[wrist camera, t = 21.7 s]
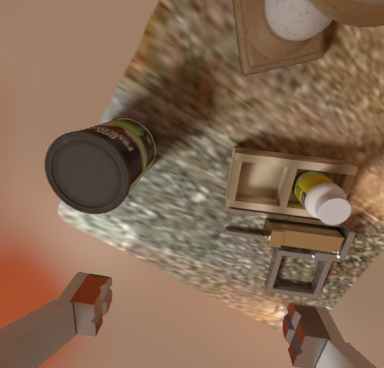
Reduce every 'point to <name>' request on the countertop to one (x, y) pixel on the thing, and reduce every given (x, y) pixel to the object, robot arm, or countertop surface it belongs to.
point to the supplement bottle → (321, 197)
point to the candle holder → (294, 29)
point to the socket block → (296, 253)
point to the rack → (278, 179)
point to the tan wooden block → (302, 235)
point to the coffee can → (99, 164)
